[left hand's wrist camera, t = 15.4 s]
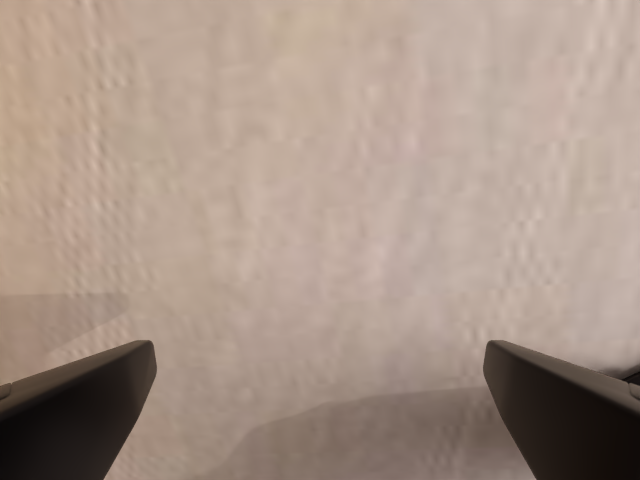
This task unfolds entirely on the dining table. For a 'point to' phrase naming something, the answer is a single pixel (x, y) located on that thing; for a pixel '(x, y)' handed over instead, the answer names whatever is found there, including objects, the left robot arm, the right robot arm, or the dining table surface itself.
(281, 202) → the dining table surface
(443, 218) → the dining table surface
